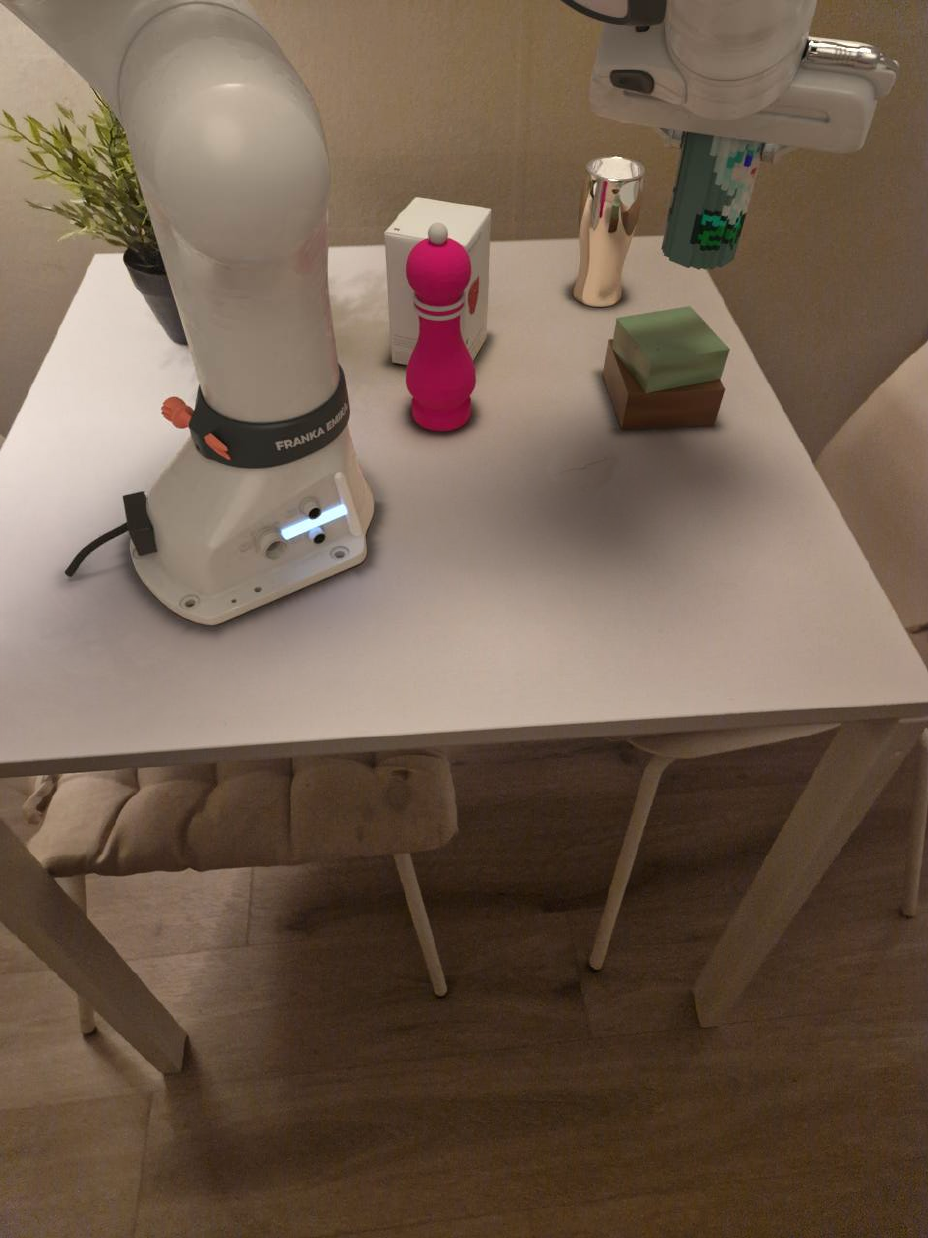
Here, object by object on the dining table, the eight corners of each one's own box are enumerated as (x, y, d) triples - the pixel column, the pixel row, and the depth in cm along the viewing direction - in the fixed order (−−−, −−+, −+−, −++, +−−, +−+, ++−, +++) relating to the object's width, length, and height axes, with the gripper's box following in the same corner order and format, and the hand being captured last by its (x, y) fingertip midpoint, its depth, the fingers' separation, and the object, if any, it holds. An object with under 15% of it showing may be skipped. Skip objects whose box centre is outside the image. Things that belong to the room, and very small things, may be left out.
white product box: (464, 379, 89) (466, 245, 77) (390, 364, 91) (380, 231, 79) (489, 337, 94) (493, 206, 83) (418, 323, 96) (413, 193, 84)
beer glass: (571, 278, 103) (585, 153, 91) (624, 282, 102) (646, 157, 91) (567, 306, 99) (582, 178, 87) (624, 311, 98) (646, 182, 86)
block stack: (714, 425, 84) (735, 358, 78) (621, 430, 83) (634, 363, 77) (689, 370, 90) (706, 304, 84) (602, 374, 89) (613, 308, 83)
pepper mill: (478, 395, 87) (482, 206, 71) (472, 437, 82) (475, 245, 67) (412, 391, 87) (402, 202, 72) (403, 432, 83) (390, 240, 67)
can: (708, 276, 68) (760, 71, 56) (649, 252, 70) (687, 51, 59) (745, 251, 70) (802, 51, 59) (687, 229, 73) (731, 33, 61)
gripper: (924, 1, 48) (870, 123, 61) (597, -33, 53) (613, 88, 66) (889, 109, 49) (843, 207, 62) (571, 67, 54) (591, 166, 67)
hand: (722, 145), depth 64 cm, fingers closed on can, 6 cm apart
